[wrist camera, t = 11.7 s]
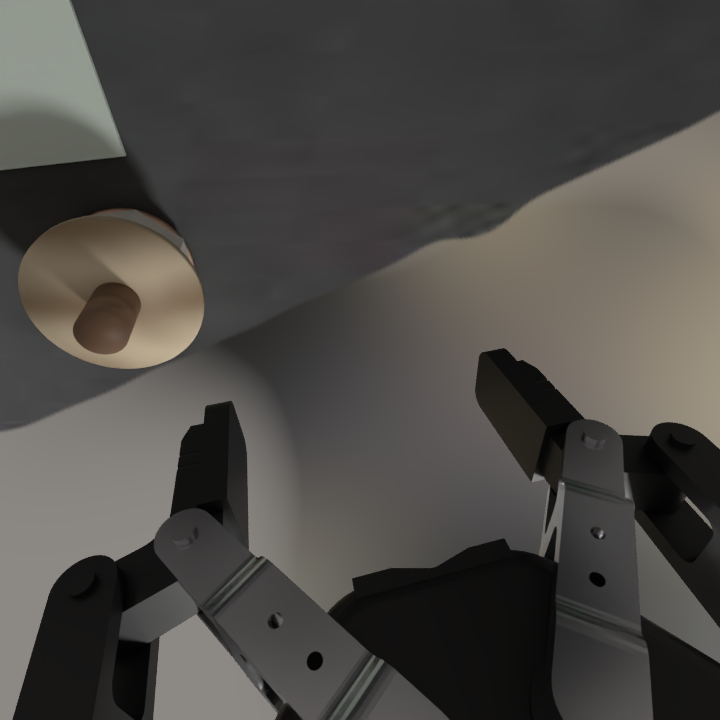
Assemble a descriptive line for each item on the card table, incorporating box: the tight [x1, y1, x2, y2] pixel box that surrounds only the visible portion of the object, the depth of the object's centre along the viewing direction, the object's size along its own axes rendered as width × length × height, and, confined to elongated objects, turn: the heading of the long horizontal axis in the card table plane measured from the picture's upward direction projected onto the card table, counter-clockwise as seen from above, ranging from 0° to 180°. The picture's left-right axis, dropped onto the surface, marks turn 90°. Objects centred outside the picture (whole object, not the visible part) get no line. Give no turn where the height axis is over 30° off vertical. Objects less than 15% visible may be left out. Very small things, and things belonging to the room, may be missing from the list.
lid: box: [18, 216, 205, 369], centre depth 30 cm, size 12×12×6 cm
